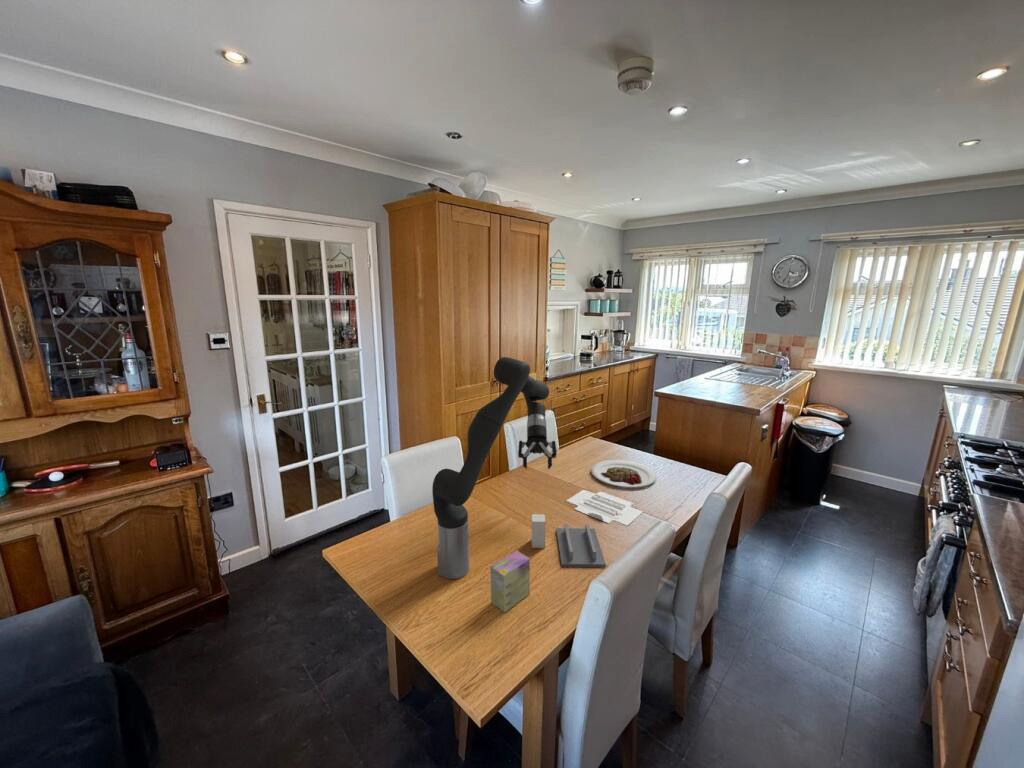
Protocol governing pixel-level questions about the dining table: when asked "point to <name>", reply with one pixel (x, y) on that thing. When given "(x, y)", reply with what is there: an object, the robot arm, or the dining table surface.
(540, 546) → the block
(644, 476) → the plated food
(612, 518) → the tray
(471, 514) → the dining table surface
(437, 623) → the dining table surface
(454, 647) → the dining table surface
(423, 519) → the dining table surface
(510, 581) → the box
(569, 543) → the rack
